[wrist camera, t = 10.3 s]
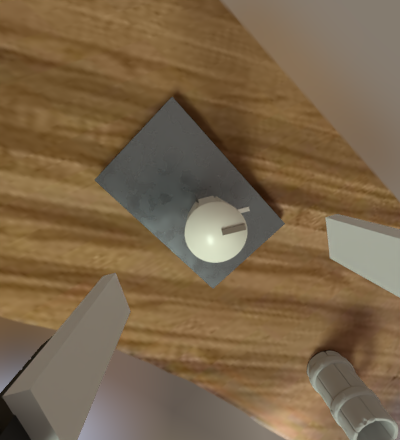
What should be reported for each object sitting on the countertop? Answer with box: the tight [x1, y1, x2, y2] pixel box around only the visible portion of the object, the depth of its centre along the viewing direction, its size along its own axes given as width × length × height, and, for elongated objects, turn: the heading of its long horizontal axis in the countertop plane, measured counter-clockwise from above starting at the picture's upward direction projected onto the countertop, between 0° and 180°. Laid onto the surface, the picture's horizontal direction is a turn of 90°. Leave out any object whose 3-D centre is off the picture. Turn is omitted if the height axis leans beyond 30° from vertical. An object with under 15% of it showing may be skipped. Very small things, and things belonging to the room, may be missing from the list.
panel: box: [95, 97, 285, 288], centre depth 25 cm, size 22×14×6 cm, turn 44°
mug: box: [307, 351, 398, 440], centre depth 30 cm, size 8×12×12 cm, turn 45°
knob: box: [185, 196, 247, 263], centre depth 23 cm, size 6×6×7 cm
